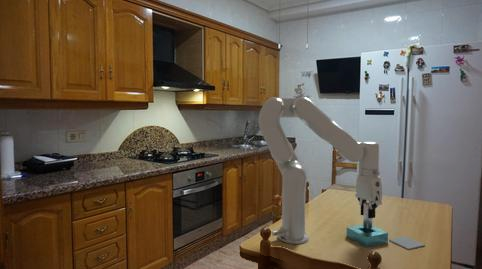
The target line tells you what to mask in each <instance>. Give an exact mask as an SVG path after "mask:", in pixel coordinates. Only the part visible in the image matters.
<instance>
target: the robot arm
mask: <svg viewBox="0 0 482 269" xmlns="http://www.w3.org/2000/svg"><path fill="white" fill-rule="evenodd" d="M281 118H284V119H285V118H298V119H299V120H300V121H301V122H302V123H304V124H305V126H307V127H308V128H309V129H310V130H311V131H312V132H313V133H314V134H315V135H317V136H318V137H319V138H320V139H322V140H323V141H325V142H326V143H328V144H329V145H331V146H332V147H333V148H334V149H335V150H336V151H337V152H338V155H339V156H340V157H341V158H343V159H345V160H346V161H347V162H350V163H357V162H358V174H357V176H356V187H355V188H356V189H355V195H354V196H355V198H356V199H357V201H358V204H359V206H360V216H363V203H364V202H369V209H368V218H369V219H371V218H372V219H374V218H376V209H377V208H378V207H380V206H381V205H382V204H383V202H382V201H383V189H382V180H381V177H380V176H379V175H380V174H381V173H380V171H379V169H380V168H379V166H380V161H379V160H380V145H379V143H378V142H375V141H362V142H359V141H357V140H356V139H355V138H353V137H352V136H351V134H349V133H348V132H347V131H345V129H343V128H342V127H341V126H340V125H338V124H337V123H336V121H334V120H333V119H332V118H331V117H329V115H328V114H326V113H325V112H324V111H323V110H322V109H321V108H320V107H319V106H318V105H316V104H315V103H314V101H312V100H311V99H310V98H308V97H306V96H301V97H295V98H293V97H292V98H290V97H289V98H288V97H287V98H286V97H284V98H283V97H282V98H281V97H277V96H273V97H270V98H267V100H266V101H265V102H264V103H263V105H262V106H261V108H260V111H259V114H258V127H259V130H260V132H261V135H262V137H263V139H264V141H265V143H266V146H267V148H268V149H269V152H270V155H271V157H272V159H273V161H274V163H276V165H277V167H278V169H279V172H280V173H281V176H282V186H281V187H282V188H281V189H282V190H281V191H282V192H281V202H282V203H281V204H282V205H281V208H282V209H281V211H282V212H281V221H282V222H281V226H280V227H279V229H277V230H272V231H271V235H272V237H276V236H277V238H278V239H279V241H282V242H284V243H286V244H291V245H292V244H293V245H302V244H305V243H307V242H308V241H309V240H310V238H309V237H310V235H309V234H308V233H307V232H306V189H307V174H306V170H305V168H304V167H303V166H302V164H301V163H300V160H299V159H298V156H297V154H296V153H295V151H294V147H293V145H292V144H291V143H290V141H289V139H288V137H287V136H286V132H284V129H283V127H282V125H281V122H280V121H281ZM372 203H373V205H372Z"/></svg>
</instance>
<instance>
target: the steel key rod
mask: <svg viewBox="0 0 482 269" xmlns="http://www.w3.org/2000/svg"><path fill="white" fill-rule="evenodd" d="M372 205H373V203H372ZM368 209H369V201H367V202H364V203H363V215H362V217H363V218H362V219H363V220H362V224H363V227H364V228H367V229H371V228H372V226H373V218H371V219H369V218H368Z"/></svg>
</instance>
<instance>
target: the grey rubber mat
mask: <svg viewBox="0 0 482 269" xmlns="http://www.w3.org/2000/svg"><path fill="white" fill-rule="evenodd" d="M388 242H391V243H393V244H395V245H398V246H400V247H401V248H403V249H405V250H407V251H409V250H414V249H418V248H422V247H425V246H426V244H424V243H422V242H419V241H417V240H415V239H414V238H413V239H412V238H410V237H409V236H407V235H404V236H400V237H395V238H391V239H389V238H388Z"/></svg>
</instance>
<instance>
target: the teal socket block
mask: <svg viewBox="0 0 482 269" xmlns="http://www.w3.org/2000/svg"><path fill="white" fill-rule="evenodd" d="M345 236H346V238H348V239H351V240H353V241H354V242H356V243H357V244H359V245H361V246H363V247H365V248H369V247H373V246H378V245H382V244H388V243H389V232H387V231H385V230H383V229H380V228H378V227H376V226H374V225H372V228H371V229H367V228H364V227H363V223H362V224H357V225H352V226H346V235H345Z"/></svg>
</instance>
